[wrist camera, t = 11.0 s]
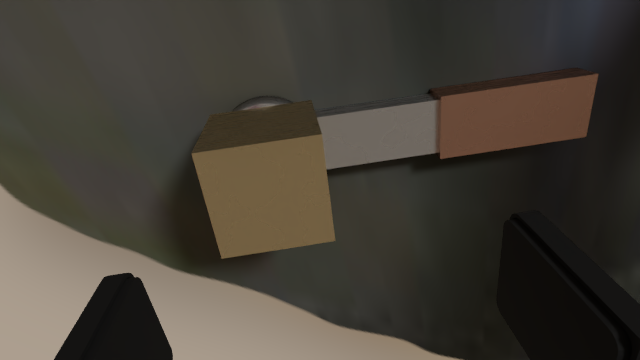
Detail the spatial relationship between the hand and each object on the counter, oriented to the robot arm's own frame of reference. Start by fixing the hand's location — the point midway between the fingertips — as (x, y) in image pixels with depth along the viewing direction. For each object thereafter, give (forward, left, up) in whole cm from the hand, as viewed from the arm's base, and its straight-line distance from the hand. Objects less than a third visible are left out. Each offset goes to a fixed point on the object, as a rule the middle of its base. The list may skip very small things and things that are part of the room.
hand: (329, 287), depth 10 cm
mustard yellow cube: (+2, +2, -15) cm, 16 cm away
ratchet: (-6, +2, -17) cm, 18 cm away
